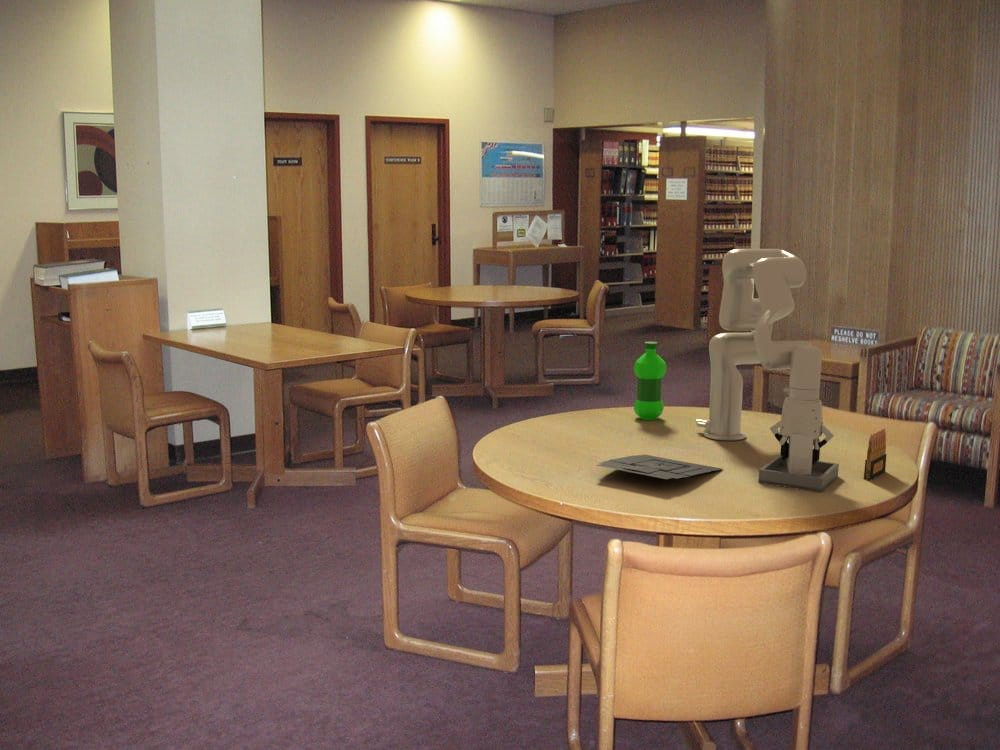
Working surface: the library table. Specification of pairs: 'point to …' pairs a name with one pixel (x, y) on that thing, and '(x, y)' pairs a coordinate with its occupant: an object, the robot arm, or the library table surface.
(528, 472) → the library table surface
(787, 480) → the tray
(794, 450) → the small box
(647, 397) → the plastic bottle
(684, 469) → the dark grey grooved panel
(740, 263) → the robot arm
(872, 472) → the ammunition clip
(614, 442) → the library table surface
